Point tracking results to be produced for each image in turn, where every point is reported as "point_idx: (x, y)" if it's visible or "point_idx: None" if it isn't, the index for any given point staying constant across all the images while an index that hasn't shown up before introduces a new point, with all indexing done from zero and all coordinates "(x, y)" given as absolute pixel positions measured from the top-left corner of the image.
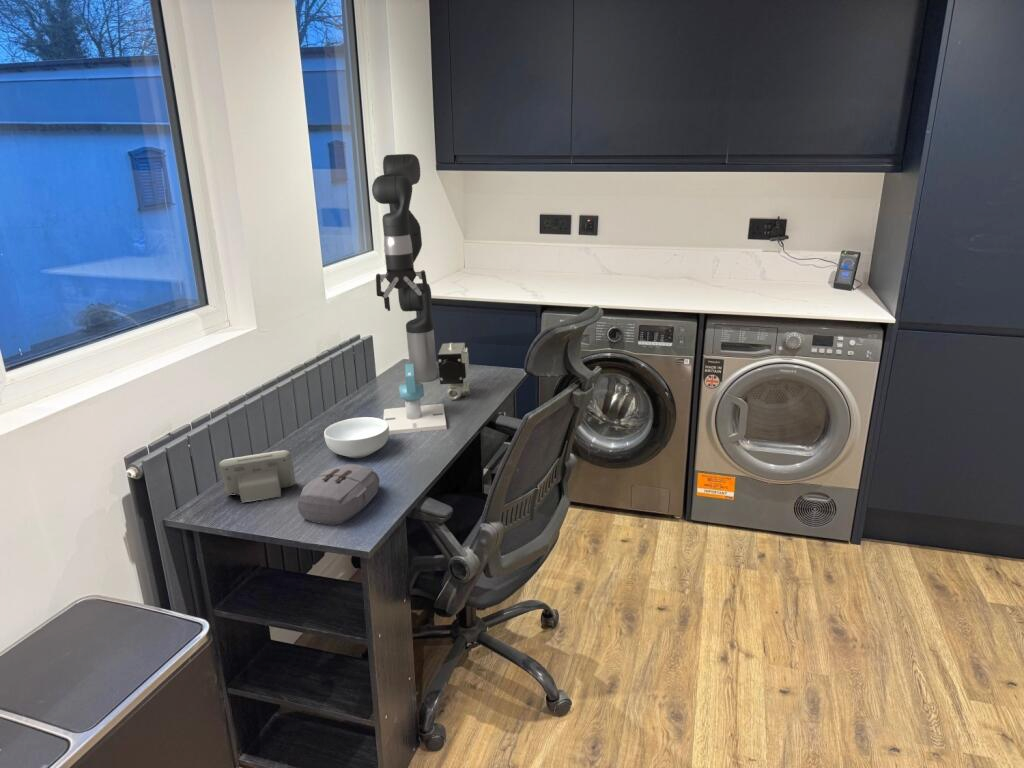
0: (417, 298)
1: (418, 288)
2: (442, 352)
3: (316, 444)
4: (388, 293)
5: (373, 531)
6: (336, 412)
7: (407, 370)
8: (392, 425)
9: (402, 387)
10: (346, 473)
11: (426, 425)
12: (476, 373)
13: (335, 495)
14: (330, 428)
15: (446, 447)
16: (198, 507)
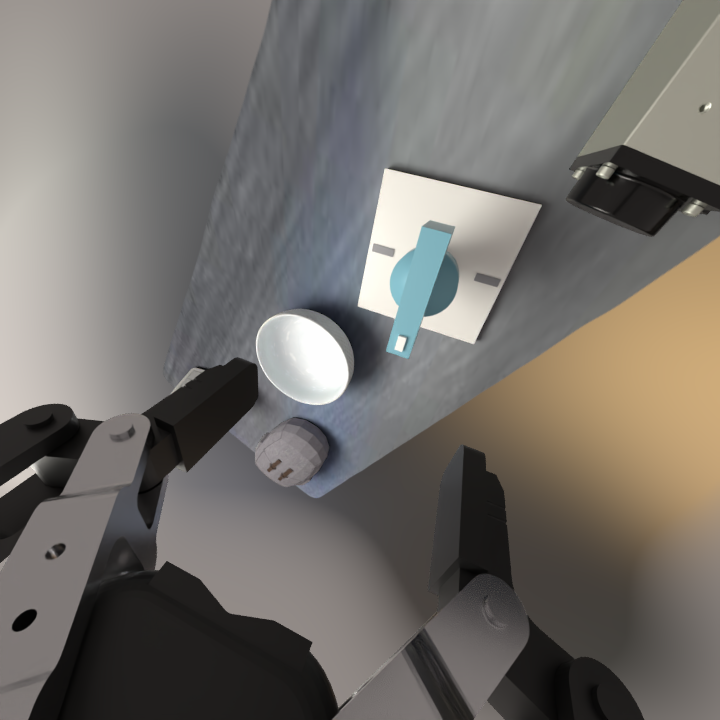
0: (432, 563)
1: (477, 681)
2: (670, 115)
3: (260, 281)
4: (149, 514)
5: (320, 488)
6: (281, 99)
7: (406, 303)
8: (379, 288)
9: (398, 282)
10: (287, 473)
11: (438, 324)
12: None
13: (282, 484)
14: (264, 329)
15: (438, 401)
16: (179, 375)
